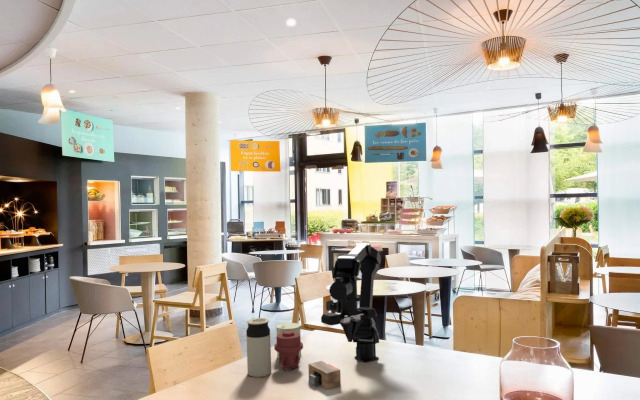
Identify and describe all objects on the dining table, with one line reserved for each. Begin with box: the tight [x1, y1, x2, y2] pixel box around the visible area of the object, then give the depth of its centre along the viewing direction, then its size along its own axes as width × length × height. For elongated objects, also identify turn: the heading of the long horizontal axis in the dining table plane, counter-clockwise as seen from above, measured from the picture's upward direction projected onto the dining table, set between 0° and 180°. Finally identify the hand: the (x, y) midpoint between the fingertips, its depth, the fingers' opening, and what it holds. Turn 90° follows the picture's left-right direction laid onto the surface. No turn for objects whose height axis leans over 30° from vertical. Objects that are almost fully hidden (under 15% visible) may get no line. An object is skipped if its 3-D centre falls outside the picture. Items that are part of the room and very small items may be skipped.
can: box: [275, 322, 302, 360], centre depth 185 cm, size 9×9×12 cm
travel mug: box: [246, 317, 272, 378], centre depth 168 cm, size 8×8×18 cm
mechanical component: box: [273, 331, 304, 372], centre depth 173 cm, size 12×10×10 cm
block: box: [307, 360, 342, 390], centre depth 158 cm, size 5×11×5 cm, turn 32°
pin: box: [308, 363, 339, 388], centre depth 158 cm, size 8×6×5 cm
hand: (349, 341), depth 163 cm, fingers closed
